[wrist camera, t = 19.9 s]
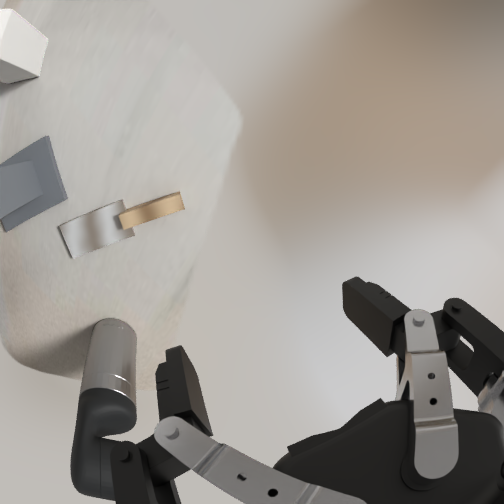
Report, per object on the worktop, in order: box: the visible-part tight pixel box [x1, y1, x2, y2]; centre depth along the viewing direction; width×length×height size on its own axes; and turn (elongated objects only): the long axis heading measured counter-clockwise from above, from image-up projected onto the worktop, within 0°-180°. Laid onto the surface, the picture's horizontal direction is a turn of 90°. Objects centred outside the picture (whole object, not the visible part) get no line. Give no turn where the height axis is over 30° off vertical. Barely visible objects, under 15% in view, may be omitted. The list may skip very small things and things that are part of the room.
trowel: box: [59, 191, 185, 259], centre depth 39 cm, size 21×6×2 cm, turn 103°
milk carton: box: [0, 9, 48, 84], centre depth 15 cm, size 7×7×19 cm
